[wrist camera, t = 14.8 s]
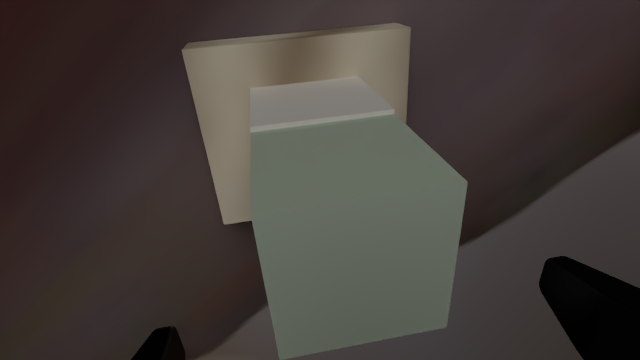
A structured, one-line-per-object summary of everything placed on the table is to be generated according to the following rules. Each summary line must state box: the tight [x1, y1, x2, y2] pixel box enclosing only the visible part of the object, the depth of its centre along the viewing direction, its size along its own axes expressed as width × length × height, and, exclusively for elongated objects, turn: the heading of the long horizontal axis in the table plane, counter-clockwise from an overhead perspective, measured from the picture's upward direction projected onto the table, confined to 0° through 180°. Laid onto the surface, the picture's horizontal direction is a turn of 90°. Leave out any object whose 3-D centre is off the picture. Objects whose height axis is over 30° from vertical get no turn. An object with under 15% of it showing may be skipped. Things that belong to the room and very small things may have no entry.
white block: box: [250, 76, 394, 132], centre depth 16 cm, size 5×5×5 cm
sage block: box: [251, 114, 468, 360], centre depth 12 cm, size 5×5×5 cm
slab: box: [182, 23, 411, 225], centre depth 19 cm, size 10×9×2 cm
